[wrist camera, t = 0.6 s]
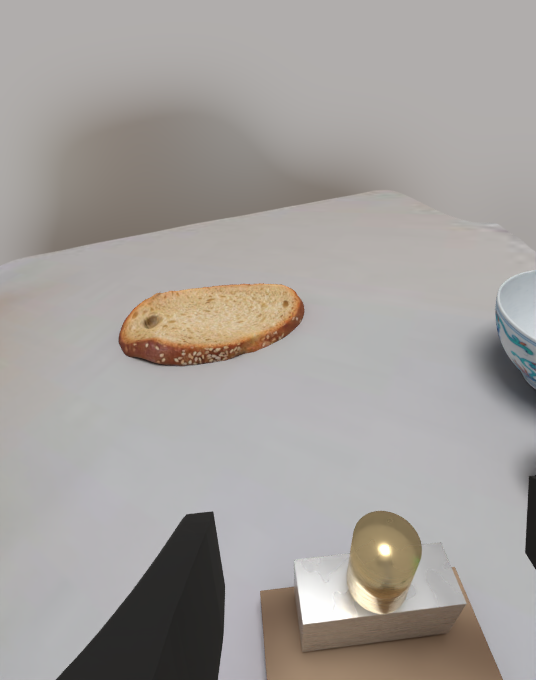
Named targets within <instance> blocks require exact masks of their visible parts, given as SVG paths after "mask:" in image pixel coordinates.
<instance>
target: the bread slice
mask: <svg viewBox="0 0 536 680" xmlns="http://www.w3.org/2000/svg"><path fill="white" fill-rule="evenodd" d="M303 315H304V305H303V302H302V300H301V299H300V298H299V297H298V295H297V294H296V292H295V291H294V290H293V289H291V288H289V287H286V286H284V285H282V284H280V285H277V284H264V283H263V284H253V285H250V284H240V285H222V286H212V287H203V288H195V289H187V290H180V291H169V292H165V293H157V294H155V295H153V296H152V297H150V298H148V299H145V300H144V301H143V302H142V303H140V304H139V305H138V306H137V307H135V308H134V309H133V310H132V312H131V313H130V314H129V315H128V317H127V318H126V319H125V321H124V323H123V325H122V328H121V331H120V334H119V344H120V346H121V348H122V350H123V352H124V354H125V355H127V356H129V357H138V358H143V359H146V360H148V361H151V362H154V363H158V364H163V365H170V366H185V365H198V364H204V363H212V362H217V361H225V360H228V359H231V358H233V357H236V356H238V355H241V354H244V353H251V352H255V351H257V350H259V349H262V348H264V347H267V346H269V345H271V344H273V343H275V342H277V341H278V340H281V339H282V338H284V337H285V336H287V335H288V334H289V333H290V332H292V331H293V330H294V329H295V328H296V327H297V326H298V325H299V324H300V322H301V320H302V318H303Z"/></svg>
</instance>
